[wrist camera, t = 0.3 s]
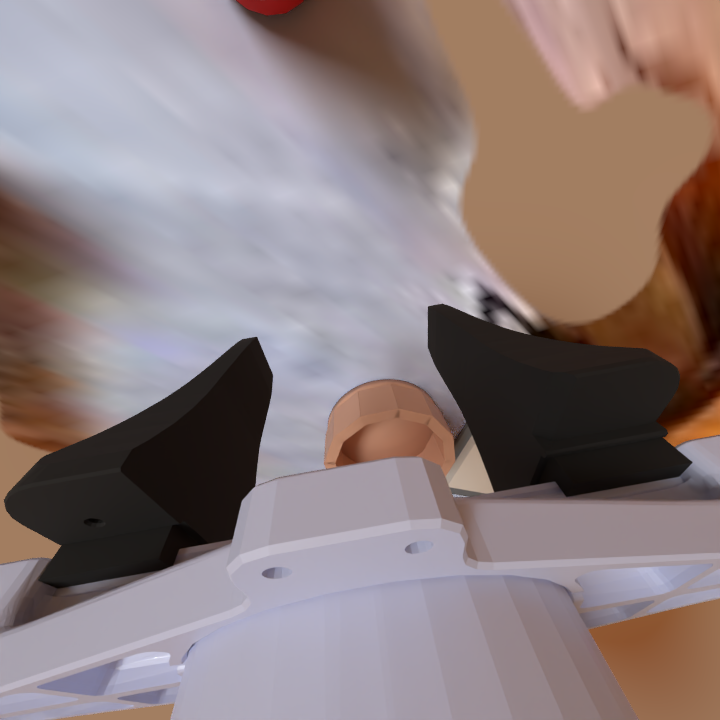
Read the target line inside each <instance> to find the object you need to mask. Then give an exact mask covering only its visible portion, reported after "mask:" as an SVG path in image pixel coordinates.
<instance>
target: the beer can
mask: <svg viewBox="0 0 720 720" xmlns="http://www.w3.org/2000/svg"><path fill="white" fill-rule="evenodd" d="M236 1H237V2H239V3H240V4H241V5H243V6H244V7H245V8H247V9H248V10H251V11H254V12H258V13H261V14H264V15H267V16H268V15H276V14H284V13H287V12H289V11H290V10H292V9H293V8H295V7H296V6H298V5H299V4H301V3H302V2H303V1H304V0H236Z"/></svg>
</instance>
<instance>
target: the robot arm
mask: <svg viewBox="0 0 720 720" xmlns="http://www.w3.org/2000/svg"><path fill="white" fill-rule="evenodd" d="M428 349H429V352H430V354H431V357H432V359H433V362H434V364H435V366H436V368H437V370H438V372H439V373H440V375H441V377H442V378H443V380H444V382H445V384H446V385H447V387H448V389H449V390H450V392H451V394H452V395H453V397H454V399H455V400H456V402H457V404H458V406H459V408H460V410H461V411H462V414H463V416H464V418H465V420H466V423H467V425H468V427H469V429H470V432H471V434H472V436H473V439H474V441H475V444H476V446H477V449H478V451H479V453H480V456H481V459H482V461H483V464H484V466H485V469H486V472H487V474H488V477H489V479H490V482H491V485H492V488H493V491H494V492H493V493H488V494H482V495H477V496H471V497H453V495H452V493H451V490H450V488H449V485H448V482H447V480H446V477H445V475H444V473H443V471H442V468H441V466H440V465H438V464H436V463H433V462H431V461H428V460H426V459H424V458H421V457H418V456H403V457H389V458H384V459H378V460H373V461H367V462H361V463H356V464H350V465H345V466H339V467H333V468H328V469H322V470H317V471H311V472H306V473H300V474H294V475H289V476H283V477H279V478H276V479H273V480H271V481H268V482H265V483H262V484H259V485H258V486H256V487H255V484H256V473H257V463H258V455H259V447H260V442H261V437H262V433H263V429H264V425H265V420H266V416H267V412H268V408H269V404H270V399H271V394H272V382H273V374H272V372H271V369H270V367H269V364H268V362H267V360H266V357H265V355H264V353H263V350H262V348H261V345H260V343H259V341H258V338H257V337H253V338H247V339H242V340H241V341H239V342H238V343H236V344H235V345H234V346H232V347H231V348H230V349H229V350H228V351H226V352H225V353H224V354H223V355H222V356H221V357H219V358H218V359H217V360H216V361H215V362H214V363H212V364H211V365H210V366H209V367H207V368H206V369H205V370H204V371H202V372H201V373H200V374H199V375H197V376H196V377H195V378H193V379H192V380H191V381H190V382H188V383H187V384H185V385H184V386H183V387H181V388H180V389H178V390H177V391H175V392H174V393H172V394H171V395H169V396H168V397H166V398H165V399H163V400H161V401H160V402H158V403H156V404H154V405H153V406H151V407H149V408H147V409H146V410H144V411H142V412H140V413H139V414H137V415H135V416H133V417H131V418H129V419H127V420H125V421H123V422H121V423H119V424H117V425H115V426H113V427H111V428H109V429H107V430H105V431H103V432H101V433H98V434H96V435H94V436H92V437H89V438H87V439H85V440H82V441H80V442H78V443H75V444H73V445H70V446H68V447H65V448H63V449H61V450H58V451H56V452H53V453H51V454H48V455H46V456H44V457H43V458H41V459H40V460H39V461H38V462H37V463H36V464H35V465H34V466H33V467H32V468H31V469H30V470H29V471H28V472H27V473H26V474H25V475H24V477H23V478H22V479H21V480H20V481H19V482H18V483H17V484H16V485H15V486H14V487H13V488H12V489H11V490H10V491H9V492H8V494H7V496H6V497H5V499H4V503H5V507H6V511H7V512H8V513H9V514H10V516H11V517H12V518H13V519H15V520H16V521H18V522H19V523H21V524H22V525H24V526H26V527H27V528H29V529H31V530H33V531H35V532H37V533H39V534H41V535H42V536H44V537H46V538H48V539H50V540H52V541H54V542H55V543H57V544H59V545H61V547H60V549H59V550H58V552H57V553H56V554H55V556H54V557H53V559H49V558H32V559H27V560H21V561H16V562H10V563H4V564H0V720H53V719H60V718H67V717H73V716H80V715H88V714H95V713H102V712H110V711H118V710H126V709H134V708H142V707H149V706H157V705H165V704H173V703H175V705H174V709H173V712H172V715H171V720H639V719H638V718H637V716H636V714H635V712H634V711H633V709H632V707H631V705H630V703H629V702H628V700H627V698H626V696H625V695H624V693H623V691H622V689H621V687H620V686H619V684H618V682H617V680H616V679H615V677H614V675H613V673H612V672H611V670H610V668H609V666H608V664H607V663H606V661H605V659H604V657H603V655H602V654H601V652H600V650H599V649H598V646H597V645H596V643H595V641H594V639H593V638H592V636H591V634H590V632H589V631H588V629H591V628H596V627H600V626H604V625H608V624H612V623H617V622H621V621H625V620H629V619H633V618H637V617H642V616H646V615H650V614H654V613H658V612H662V611H666V610H671V609H675V608H680V607H684V606H688V605H693V604H697V603H701V602H705V601H710V600H714V599H719V598H720V435H716V436H711V437H705V438H699V439H694V440H689V441H686V442H683V443H681V444H679V445H677V446H676V447H673V446H672V445H671V444H670V443H668V442H667V441H666V440H665V439H664V438H662V437H665V436H666V435H667V434H668V432H667V430H666V429H665V428H664V427H663V426H661V425H660V424H659V423H657V422H656V420H657V418H658V417H659V416H660V414H661V413H662V411H663V410H664V409H665V407H666V406H667V404H668V403H669V402H670V400H671V399H672V397H673V396H674V394H675V392H676V390H677V388H678V385H679V380H680V374H679V371H678V369H677V367H675V366H674V365H673V364H671V363H670V362H668V361H666V360H665V359H663V358H661V357H659V356H658V355H656V354H654V353H653V352H651V351H649V350H647V349H643V348H625V347H608V346H596V345H587V344H578V343H570V342H564V341H557V340H552V339H547V338H541V337H537V336H532V335H528V334H524V333H520V332H517V331H513V330H509V329H506V328H503V327H500V326H497V325H495V324H492V323H489V322H486V321H484V320H481V319H479V318H476V317H474V316H472V315H469V314H467V313H465V312H462V311H460V310H458V309H455V308H453V307H450V306H448V305H445V304H439V305H433V306H428Z"/></svg>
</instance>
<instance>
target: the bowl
mask: <svg viewBox="0 0 720 720" xmlns="http://www.w3.org/2000/svg"><path fill="white" fill-rule="evenodd" d="M403 456H418V457H421V458H424V459H426V460H428V461H431V462H433V463H436V464H438V465H440V466H441V468H442V471H443V473H444V475H445V477H446V475H447V474H448V472H449V471H450V469H451V467H452V466H453V464H454V463H455V450H454V437H453V435H452V433H451V431H450V429H449V427H448V425H447V423H446V421H445V419H444V417H443V415H442V413H441V411H440V410H439V409H438V408H437V407H436V405H435V403H434V402H433V400H432V398H431V397H430V396H429V395H428V394H427V393H426V392H425V391H424V390H422V389H421V388H419V387H418V386H416V385H414V384H411V383H408V382H405V381H401V380H393V379H384V380H376V381H371V382H367V383H364V384H362V385H359V386H357V387H355V388H353V389H352V390H350V391H349V392H347V393H346V394H345V395H344V396H342V397H341V398H340V399H339V401H338V402H337V403H336V404H335V406H334V407H333V409H332V411H331V413H330V416H329V420H328V429H327V432H326V438H325V455H324V465H325V467H326V469H328V468H333V467H339V466H345V465H350V464H356V463H361V462H367V461H373V460H378V459H384V458H389V457H403Z"/></svg>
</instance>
